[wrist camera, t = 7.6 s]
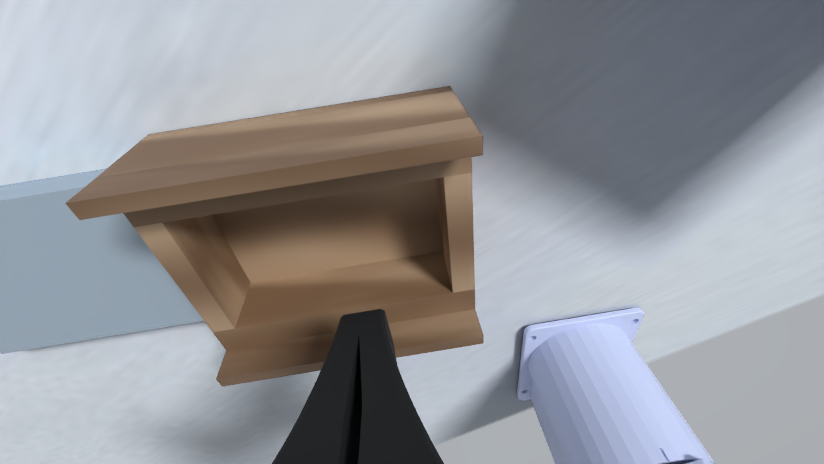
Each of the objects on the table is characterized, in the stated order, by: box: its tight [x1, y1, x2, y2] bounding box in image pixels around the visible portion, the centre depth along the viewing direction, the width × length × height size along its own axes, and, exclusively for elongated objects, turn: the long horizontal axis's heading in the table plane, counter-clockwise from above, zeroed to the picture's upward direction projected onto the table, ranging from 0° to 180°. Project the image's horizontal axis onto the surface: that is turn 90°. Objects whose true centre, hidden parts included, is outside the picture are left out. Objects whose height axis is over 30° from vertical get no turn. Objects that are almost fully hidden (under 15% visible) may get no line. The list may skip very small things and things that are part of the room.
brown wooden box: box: [65, 86, 483, 386], centre depth 15 cm, size 10×12×5 cm
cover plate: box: [0, 169, 204, 354], centre depth 17 cm, size 8×12×2 cm
